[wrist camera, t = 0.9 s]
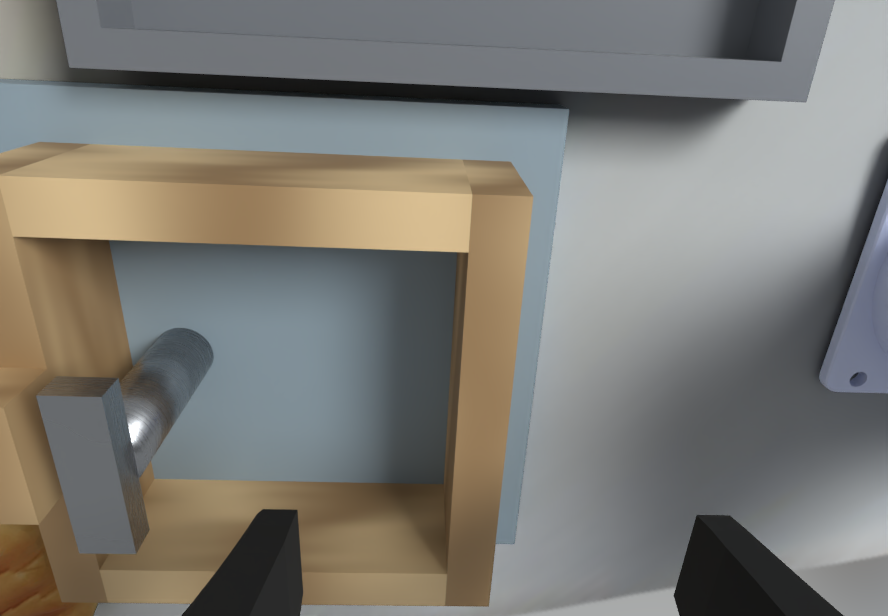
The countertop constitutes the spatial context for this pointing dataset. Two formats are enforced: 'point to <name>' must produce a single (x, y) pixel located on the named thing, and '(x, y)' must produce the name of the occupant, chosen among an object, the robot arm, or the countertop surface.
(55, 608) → the pastry
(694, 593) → the robot arm
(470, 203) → the wooden frame
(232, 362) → the stake base
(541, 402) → the countertop surface
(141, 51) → the tray
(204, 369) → the stake post
